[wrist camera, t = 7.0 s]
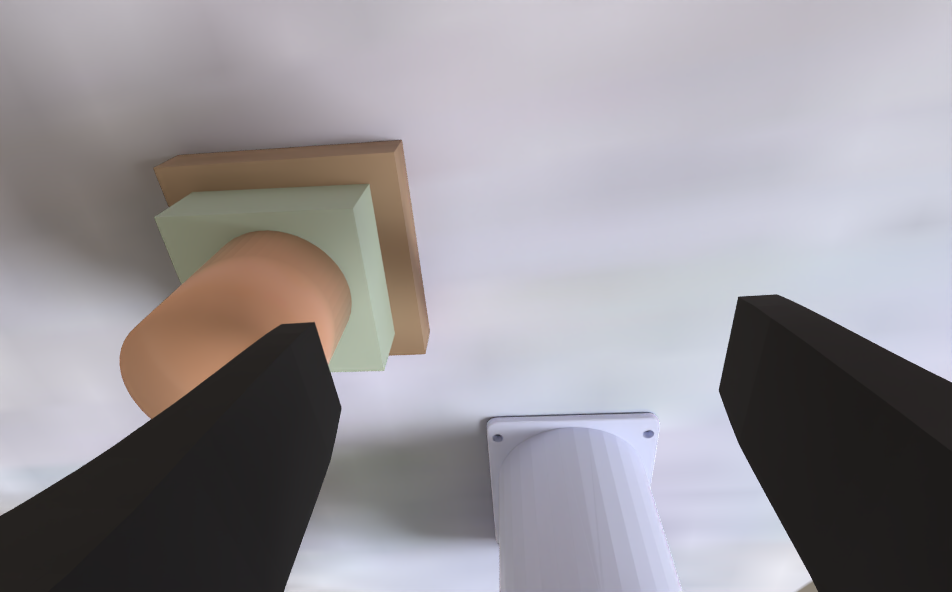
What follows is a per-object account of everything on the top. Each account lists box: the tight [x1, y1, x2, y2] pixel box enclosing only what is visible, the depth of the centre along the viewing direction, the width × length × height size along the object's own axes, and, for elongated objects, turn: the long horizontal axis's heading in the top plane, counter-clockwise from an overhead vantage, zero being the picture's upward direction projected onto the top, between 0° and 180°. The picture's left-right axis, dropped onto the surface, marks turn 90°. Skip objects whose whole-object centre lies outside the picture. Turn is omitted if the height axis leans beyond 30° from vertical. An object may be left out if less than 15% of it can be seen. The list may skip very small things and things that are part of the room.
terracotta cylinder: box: [120, 230, 352, 419], centre depth 14 cm, size 4×4×4 cm
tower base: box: [153, 140, 430, 355], centre depth 19 cm, size 8×8×2 cm
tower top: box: [154, 184, 395, 372], centre depth 17 cm, size 6×6×2 cm
